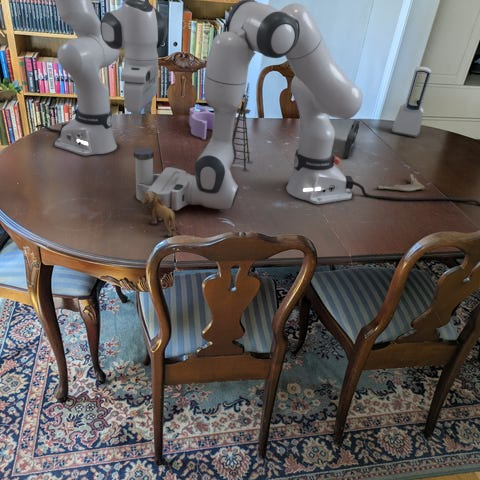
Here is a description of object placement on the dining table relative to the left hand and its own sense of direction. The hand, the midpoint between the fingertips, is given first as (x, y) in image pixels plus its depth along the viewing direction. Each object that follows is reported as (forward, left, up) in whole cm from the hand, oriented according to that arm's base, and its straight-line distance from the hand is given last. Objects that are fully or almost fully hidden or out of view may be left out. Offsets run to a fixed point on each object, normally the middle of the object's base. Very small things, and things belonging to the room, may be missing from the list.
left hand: (143, 119), depth 133 cm
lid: (0, 0, -10) cm, 10 cm away
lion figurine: (+12, -14, -25) cm, 31 cm away
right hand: (-1, 0, -20) cm, 20 cm away
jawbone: (+77, +49, -25) cm, 95 cm away
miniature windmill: (+19, +38, -25) cm, 49 cm away
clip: (-4, +65, -25) cm, 70 cm away
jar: (0, 0, -25) cm, 25 cm away
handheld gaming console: (+57, +75, -25) cm, 98 cm away
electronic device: (+81, +111, -25) cm, 140 cm away
